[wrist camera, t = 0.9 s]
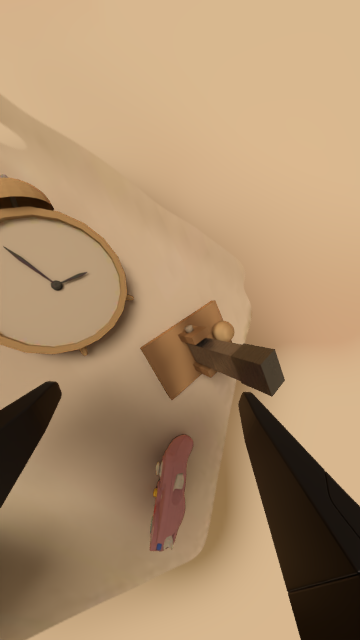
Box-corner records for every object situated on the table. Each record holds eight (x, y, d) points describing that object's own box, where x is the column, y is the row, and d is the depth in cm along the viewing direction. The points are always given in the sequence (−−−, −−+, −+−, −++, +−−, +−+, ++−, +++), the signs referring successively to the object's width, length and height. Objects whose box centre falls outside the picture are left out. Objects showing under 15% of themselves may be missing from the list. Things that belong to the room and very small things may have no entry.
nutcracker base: (169, 397, 23) (185, 412, 19) (140, 347, 20) (151, 355, 17) (229, 344, 28) (250, 349, 24) (211, 300, 26) (231, 298, 22)
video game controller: (161, 427, 24) (157, 467, 17) (192, 431, 24) (202, 473, 17) (147, 501, 23) (138, 575, 16) (180, 505, 23) (185, 579, 16)
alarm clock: (73, 380, 15) (-295, 219, 6) (68, 360, 19) (-167, 245, 10) (151, 285, 18) (-28, 95, 10) (132, 286, 22) (-6, 150, 13)
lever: (195, 363, 23) (272, 396, 14) (186, 343, 22) (260, 364, 13) (206, 354, 23) (284, 380, 14) (197, 334, 23) (274, 349, 13)
